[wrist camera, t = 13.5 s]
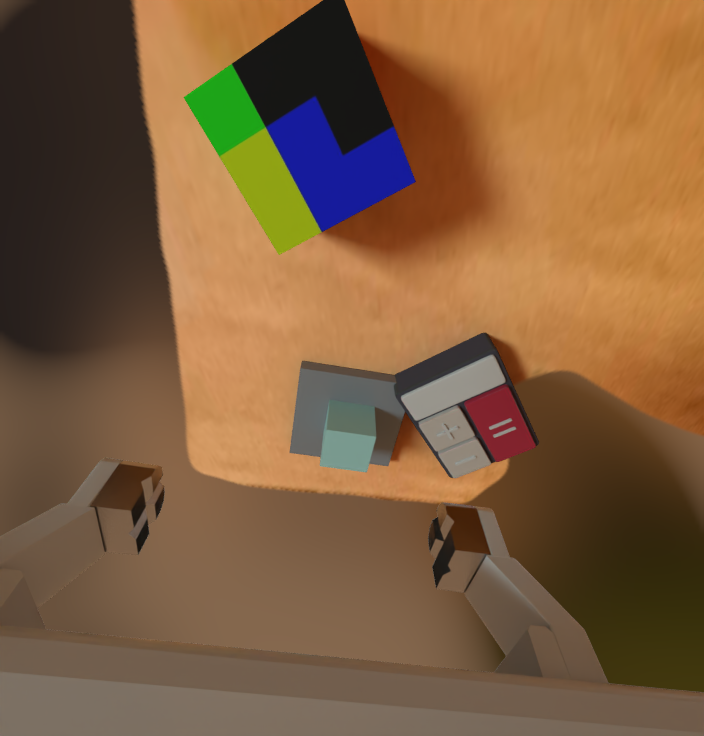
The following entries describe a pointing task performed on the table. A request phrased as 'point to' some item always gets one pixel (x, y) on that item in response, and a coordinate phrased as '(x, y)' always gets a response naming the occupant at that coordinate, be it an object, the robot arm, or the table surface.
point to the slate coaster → (346, 387)
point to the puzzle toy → (304, 127)
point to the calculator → (466, 407)
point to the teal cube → (348, 436)
